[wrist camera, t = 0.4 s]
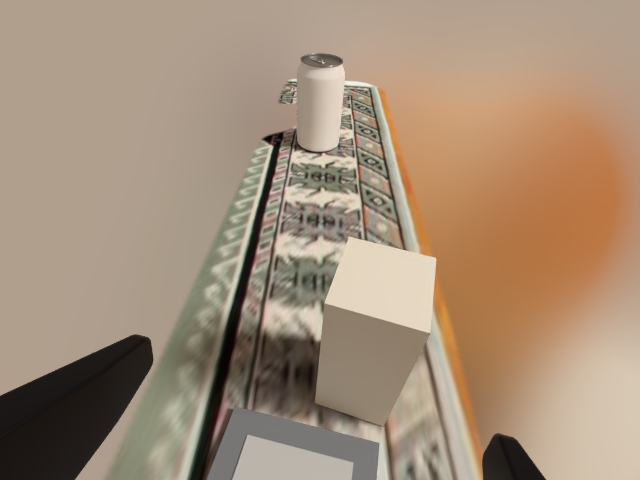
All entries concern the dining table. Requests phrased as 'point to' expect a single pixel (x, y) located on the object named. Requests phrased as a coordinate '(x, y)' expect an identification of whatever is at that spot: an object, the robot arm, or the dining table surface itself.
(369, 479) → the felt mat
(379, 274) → the cream block
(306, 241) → the dining table surface
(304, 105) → the can
